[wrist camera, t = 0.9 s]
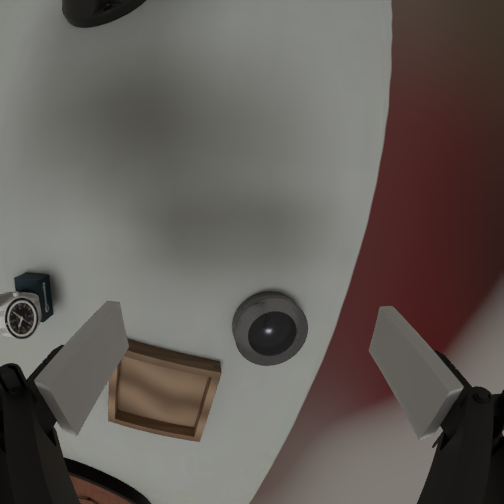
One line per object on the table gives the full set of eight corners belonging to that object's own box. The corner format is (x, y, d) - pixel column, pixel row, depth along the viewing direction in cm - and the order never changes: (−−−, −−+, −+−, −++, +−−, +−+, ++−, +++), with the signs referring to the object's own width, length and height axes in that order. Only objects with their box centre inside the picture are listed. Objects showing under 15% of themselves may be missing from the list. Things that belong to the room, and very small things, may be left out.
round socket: (251, 280, 33) (256, 287, 30) (311, 306, 36) (320, 314, 33) (220, 341, 34) (222, 352, 31) (279, 361, 36) (286, 373, 33)
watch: (64, 315, 30) (25, 352, 19) (22, 308, 28) (-20, 338, 17) (60, 275, 29) (14, 301, 18) (17, 271, 27) (-30, 291, 17)
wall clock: (162, 501, 34) (144, 536, 36) (162, 487, 38) (144, 526, 40) (19, 444, 27) (38, 498, 29) (25, 432, 30) (42, 489, 33)
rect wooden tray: (117, 335, 31) (111, 345, 29) (219, 361, 34) (221, 372, 32) (112, 409, 33) (108, 420, 30) (199, 429, 36) (199, 441, 33)
